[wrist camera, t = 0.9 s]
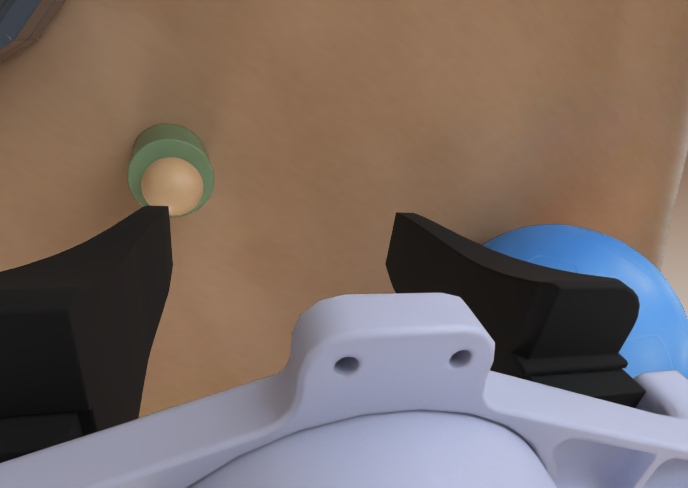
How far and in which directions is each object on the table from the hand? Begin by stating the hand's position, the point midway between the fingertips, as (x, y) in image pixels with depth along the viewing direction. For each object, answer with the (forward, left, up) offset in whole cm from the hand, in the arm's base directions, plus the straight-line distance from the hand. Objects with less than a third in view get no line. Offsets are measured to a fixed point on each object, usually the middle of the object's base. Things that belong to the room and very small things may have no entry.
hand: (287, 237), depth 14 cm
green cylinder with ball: (-3, 0, -13) cm, 13 cm away
